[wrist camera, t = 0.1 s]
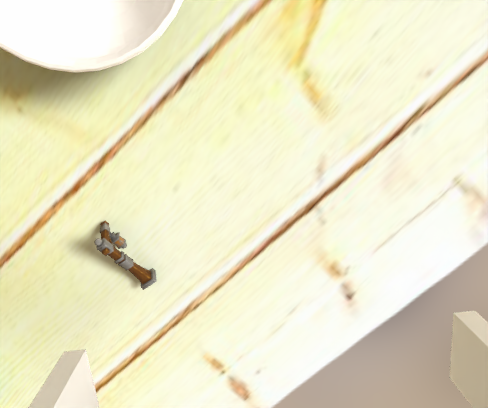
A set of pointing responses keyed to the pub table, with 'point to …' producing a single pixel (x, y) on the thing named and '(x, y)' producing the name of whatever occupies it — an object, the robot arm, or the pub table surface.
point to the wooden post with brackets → (122, 255)
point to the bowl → (82, 31)
